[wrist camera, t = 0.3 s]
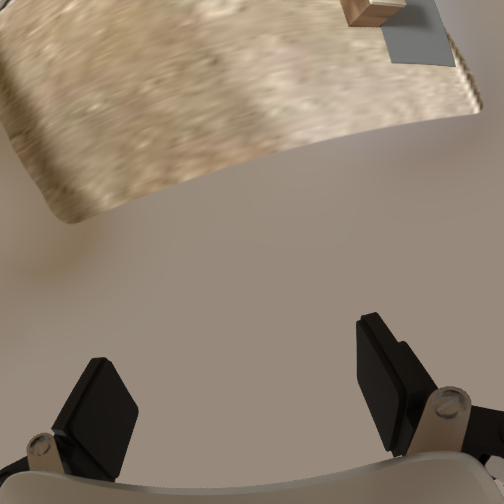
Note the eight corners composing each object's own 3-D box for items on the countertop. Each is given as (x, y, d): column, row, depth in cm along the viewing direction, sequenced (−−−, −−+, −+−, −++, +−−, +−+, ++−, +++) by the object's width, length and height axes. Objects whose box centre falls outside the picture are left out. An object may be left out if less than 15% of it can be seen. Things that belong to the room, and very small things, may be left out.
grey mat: (360, -28, 27) (361, -29, 27) (424, -19, 26) (425, -19, 26) (391, 63, 32) (392, 62, 32) (454, 66, 32) (455, 66, 31)
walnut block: (339, 0, 29) (360, -29, 21) (368, 1, 29) (394, -25, 20) (348, 26, 31) (373, 1, 22) (377, 27, 30) (406, 4, 22)
